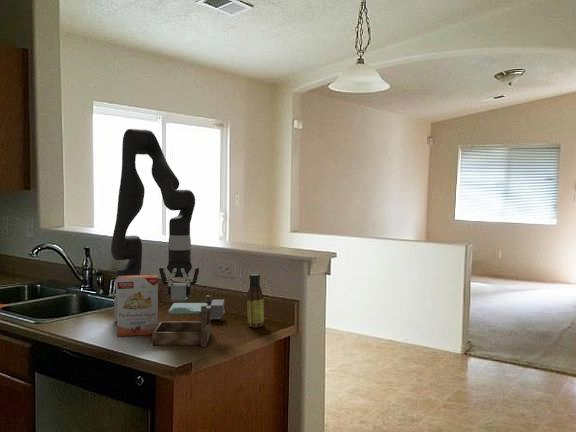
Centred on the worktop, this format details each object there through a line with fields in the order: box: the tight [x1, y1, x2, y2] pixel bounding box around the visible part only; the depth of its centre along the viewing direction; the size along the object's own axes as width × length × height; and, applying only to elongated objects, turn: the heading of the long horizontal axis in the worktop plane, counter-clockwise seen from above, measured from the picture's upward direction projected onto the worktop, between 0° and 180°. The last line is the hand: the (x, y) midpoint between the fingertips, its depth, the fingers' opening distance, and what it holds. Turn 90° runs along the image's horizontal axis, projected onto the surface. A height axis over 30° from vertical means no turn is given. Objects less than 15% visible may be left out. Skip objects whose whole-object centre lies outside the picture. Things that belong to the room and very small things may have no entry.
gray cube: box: [170, 282, 189, 301], centre depth 181 cm, size 5×5×5 cm
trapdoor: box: [167, 299, 225, 318], centre depth 182 cm, size 18×12×4 cm, turn 93°
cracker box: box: [116, 274, 159, 338], centre depth 188 cm, size 14×6×21 cm, turn 106°
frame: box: [151, 294, 213, 348], centre depth 182 cm, size 18×18×14 cm
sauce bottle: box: [246, 273, 265, 329], centre depth 200 cm, size 6×6×20 cm
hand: (179, 296), depth 181 cm, fingers closed on gray cube, 5 cm apart
